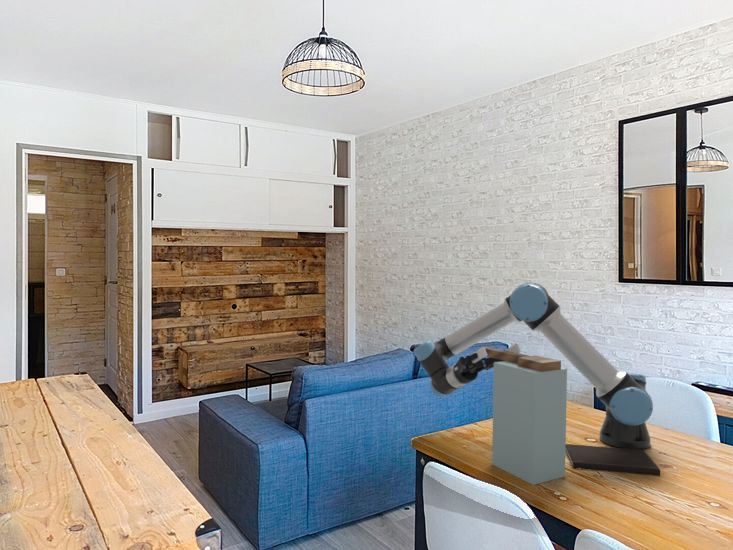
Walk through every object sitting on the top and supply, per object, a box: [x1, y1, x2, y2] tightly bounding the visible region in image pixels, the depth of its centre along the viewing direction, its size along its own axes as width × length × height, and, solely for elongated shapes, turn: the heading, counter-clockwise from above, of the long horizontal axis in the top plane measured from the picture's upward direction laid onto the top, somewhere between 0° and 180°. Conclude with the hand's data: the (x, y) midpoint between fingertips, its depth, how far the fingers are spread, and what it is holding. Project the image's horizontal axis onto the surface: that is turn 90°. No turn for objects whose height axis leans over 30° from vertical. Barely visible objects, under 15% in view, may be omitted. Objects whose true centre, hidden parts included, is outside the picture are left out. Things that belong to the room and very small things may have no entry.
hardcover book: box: [565, 443, 661, 477], centre depth 158 cm, size 16×23×2 cm
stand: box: [491, 361, 568, 486], centre depth 151 cm, size 16×12×30 cm
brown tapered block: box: [480, 346, 562, 372], centre depth 155 cm, size 27×7×2 cm, turn 29°
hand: (502, 349), depth 160 cm, fingers open, 12 cm apart
